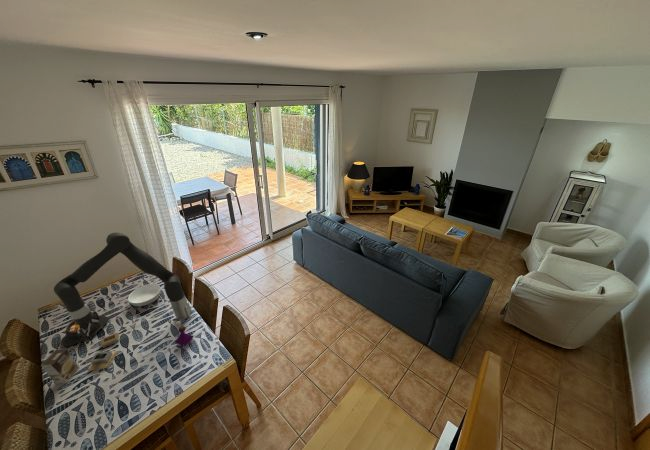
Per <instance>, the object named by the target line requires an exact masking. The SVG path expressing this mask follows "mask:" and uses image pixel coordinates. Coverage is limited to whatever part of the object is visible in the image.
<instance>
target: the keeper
mask: <svg viewBox="0 0 650 450" xmlns="http://www.w3.org/2000/svg"><path fill="white" fill-rule="evenodd" d="M111 352H112V354H113V355H112V356H111V358H110V360H109V361H108V363H103V364H96V365H92V364H91V363H90V365H89V367H88V368H87V370H88V371H95V370H102V369H109V367H111V364H112V363H113V361H114V360H115V357H116V356H117V355H118V351H117V350H112V351H111ZM97 353H98V356H99V359H100V358H105V357H103V355H102V354H101V352H97Z"/></svg>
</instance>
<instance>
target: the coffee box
mask: <svg viewBox="0 0 650 450" xmlns="http://www.w3.org/2000/svg"><path fill="white" fill-rule="evenodd" d="M40 366H41V368H42V369H43V370H44V372H45V373H46V374H47V375H48V376H49V377H50V379H51V380H52V381H53V383H54V384H56V385H58V384H66V383H68V382H69V381H70V379H72V378H73V376H74V375H75V373H77V371H78V370H79V369H80V366H79V364H78V363H77V361H76V360H75V359H74V358H73V355H72V354H71V353H70V352H69V350H68V349H67V348H66V349H64V348H63V349H55V350H53V352H52V353H51V354H50V355H49V356H48V357H47V358H46V359H45V360H44V361H43V362H42V363H41V364H40Z"/></svg>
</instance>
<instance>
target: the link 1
mask: <svg viewBox="0 0 650 450" xmlns="http://www.w3.org/2000/svg"><path fill="white" fill-rule="evenodd" d="M118 333H119V332H114V333H112V334H109V335H108V336H104V337H102V338H101V340H100V341H101V342H100V343H101V346H102V348H107V347H108V346H111V345H113V344H116V343H119V342H120V334H118Z"/></svg>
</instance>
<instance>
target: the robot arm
mask: <svg viewBox="0 0 650 450" xmlns="http://www.w3.org/2000/svg"><path fill="white" fill-rule="evenodd" d="M105 241H106V244H107V245H106V246H105V247H104V248H103V249H101V250H100V251H99V252H98V253H97V254H95V255H94V256H93V257H91V258H89V259H88V260H85V262H83V263H82V264H81V265H80V266H79V267H78V268H77V269H75V270H74V271H73V272H72V273H70V274H68V275H67V276H66V277H64V278H63V279H60V280H59V281H58V282H57V283H56V284H55V286H54V287H53V292H54V293H55V295H56V296H57V297H58V298H59V299H60V301H61V302H62V303H63V305H64V307H65V309H66V311H67V312H68V314H69V317H71V319H72V321H74V322H75V323H76V324H77V325H79V327H80V328H79V330H76V334H77V335H78V337H79V339H84V338H85V340H84V341H85V342H89V341H92V340H93V338H92V336H91V337H90V335H89V331H90V327H91V325H93V323H94V326H95V327H96V328H100V327H101V326H100V324H99V319H100V317H99V316H100V315H99V314H98V313H97V311H91V309H90V307H89V306H88V305H87V304H86V302H85V300H84V299H83V298H82V296H81V294H80V291H78V289H77V287H76V286H77V285H78V284H80V283H85V282H86V281H88V280H89V279H90V278H92V277H93V275H94V274H95V273H96V272H98V271H99V270H100V269H101V268H102V267H103V266H105V265H106V264H107V263H108V262H109V261H110V260H111V259H113V258H114V257H116V256H118V254H122V255H123V256H125V258H127V259H128V260H129V261H130V263H132V264H133V265H134V266H135V267H137V268H138V269H139V270H140V271H142V272H143V273H145V274H147V275H150V276H155V277H156V278H158V279H159V280H160V281H162V283H163V287H164V291H165V294H166V297H167V298H168V300H169V302H170V303H169V304H170V305H171V307H172V310H173V313H174V315H175V319H176V320H177V321H183V319H184V320H186V319H189V318H190V317H191V315H192V312H191V311H192V308H191V305H190V303H189V301H188V300H187V297H186V294H185V291H184V290H183V287H182V285H181V278H180V276H178V275H177V274H176V273H173V272H172V271H170V270H169V269H167V268H166V267H165V266H164V265H163V264H161V263H160V262H159V261H158V260H157V259H156V258H154V257H153V256H152V255H150V254H149V253H147V252H146V251H144V250H142V249H140V248H139V247H137V246H136V245H135V244H134V243H132V242H131V240H130V237H129V236H128V235H126V234H124V233H122V232H112V233H110V234H108V235H107V237H106V239H105ZM189 316H190V317H189ZM188 317H189V318H188ZM84 329H87V330H85V331H84ZM85 332H86V334H85Z"/></svg>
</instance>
